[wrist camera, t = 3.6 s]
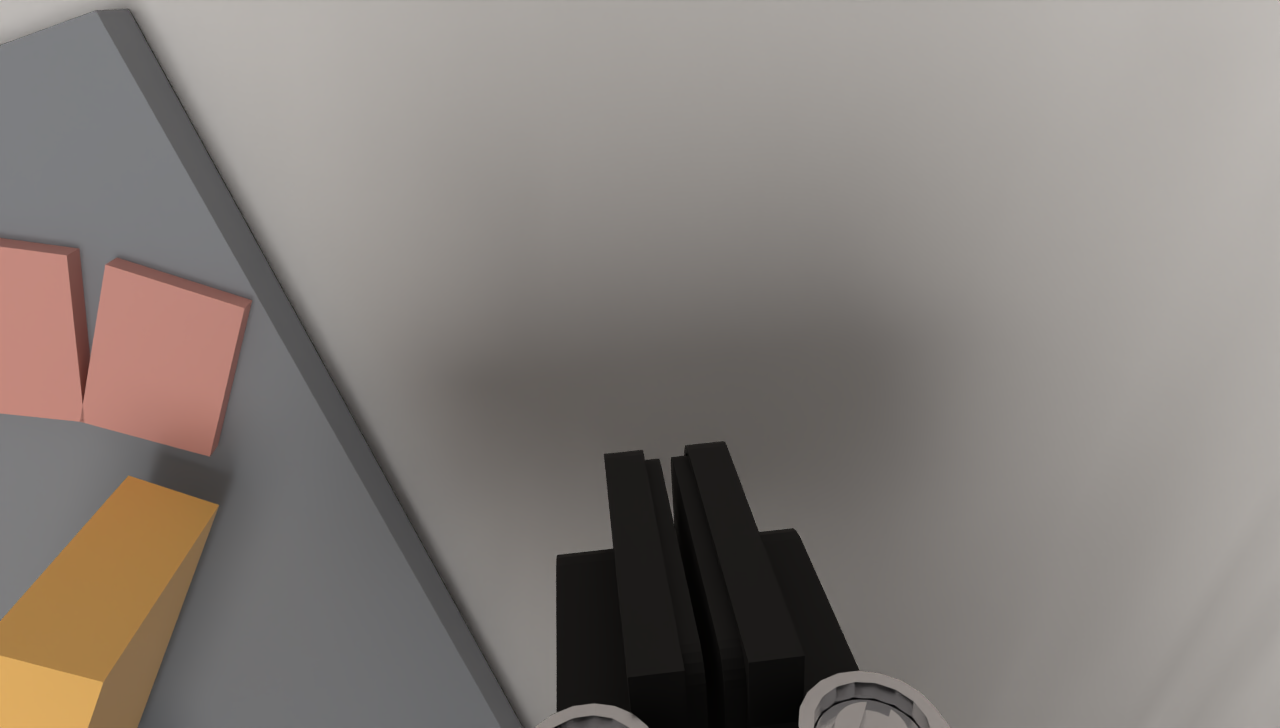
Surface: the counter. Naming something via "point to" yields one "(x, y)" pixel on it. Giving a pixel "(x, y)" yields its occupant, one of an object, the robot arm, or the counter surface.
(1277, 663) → the counter surface
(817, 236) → the counter surface
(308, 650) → the dial board
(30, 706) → the dial knob with pointer
